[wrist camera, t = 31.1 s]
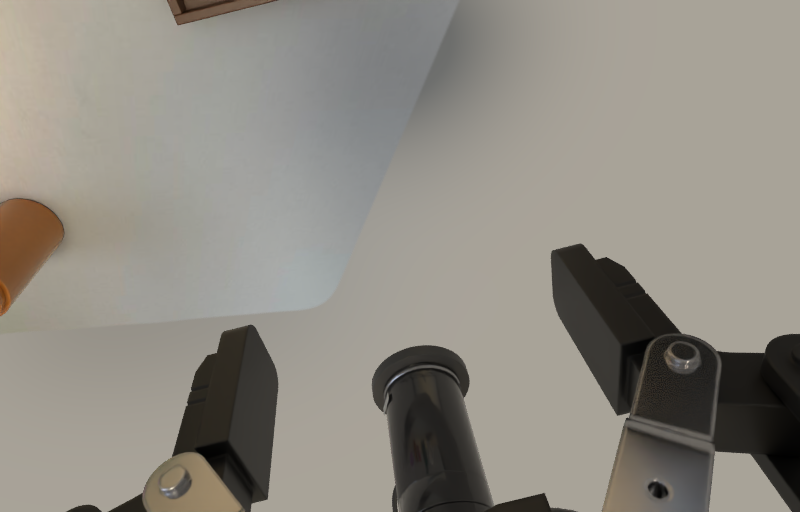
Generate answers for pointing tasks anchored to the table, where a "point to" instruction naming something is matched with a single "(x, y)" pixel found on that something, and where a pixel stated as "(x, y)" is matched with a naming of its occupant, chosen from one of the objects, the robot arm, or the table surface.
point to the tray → (207, 8)
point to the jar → (24, 245)
